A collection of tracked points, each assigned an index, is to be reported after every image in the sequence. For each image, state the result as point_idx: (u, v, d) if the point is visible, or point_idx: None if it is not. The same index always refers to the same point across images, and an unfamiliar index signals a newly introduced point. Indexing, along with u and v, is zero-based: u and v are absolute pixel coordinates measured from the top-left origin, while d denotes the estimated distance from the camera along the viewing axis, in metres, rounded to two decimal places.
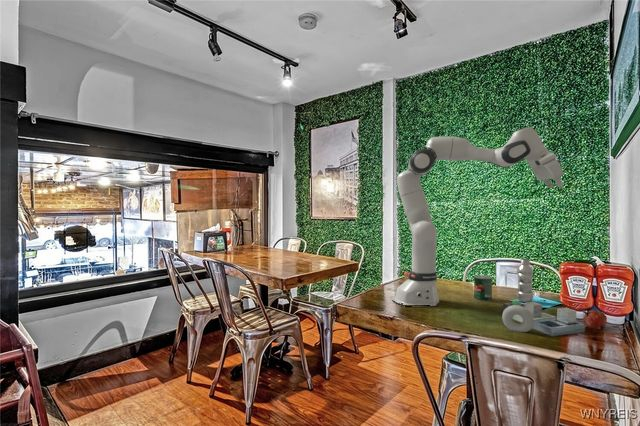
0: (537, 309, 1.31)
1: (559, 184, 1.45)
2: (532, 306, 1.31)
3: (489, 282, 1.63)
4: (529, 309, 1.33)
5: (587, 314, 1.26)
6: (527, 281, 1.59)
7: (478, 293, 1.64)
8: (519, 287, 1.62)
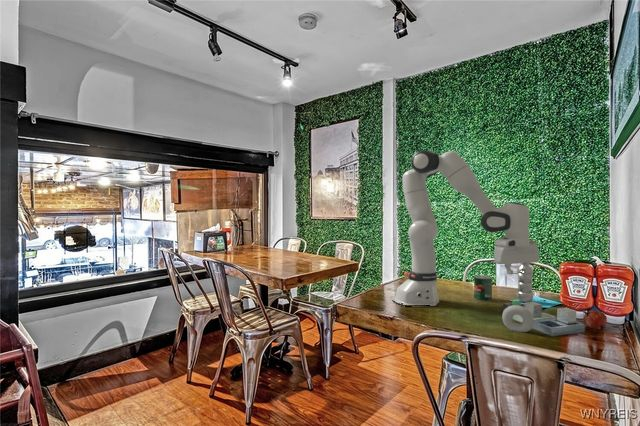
0: (537, 309, 1.31)
1: (508, 271, 1.42)
2: (532, 306, 1.31)
3: (489, 282, 1.63)
4: (529, 309, 1.33)
5: (587, 314, 1.26)
6: (527, 281, 1.59)
7: (478, 293, 1.64)
8: (519, 287, 1.62)
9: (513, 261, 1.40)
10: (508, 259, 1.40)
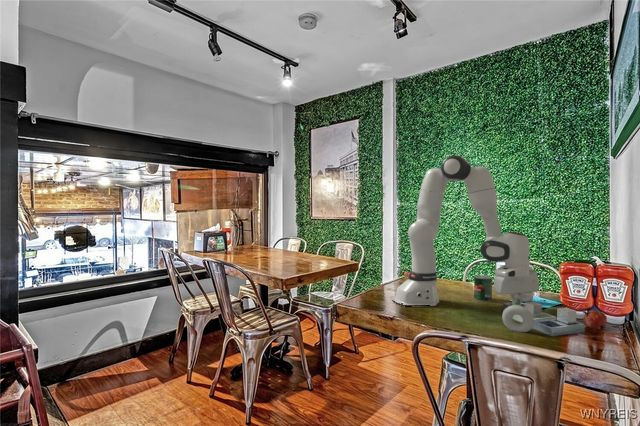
0: (537, 309, 1.31)
1: (513, 300, 1.43)
2: (532, 306, 1.31)
3: (489, 282, 1.63)
4: (529, 309, 1.33)
5: (587, 314, 1.26)
6: None
7: (478, 293, 1.64)
8: None
9: (513, 291, 1.41)
10: (508, 289, 1.40)
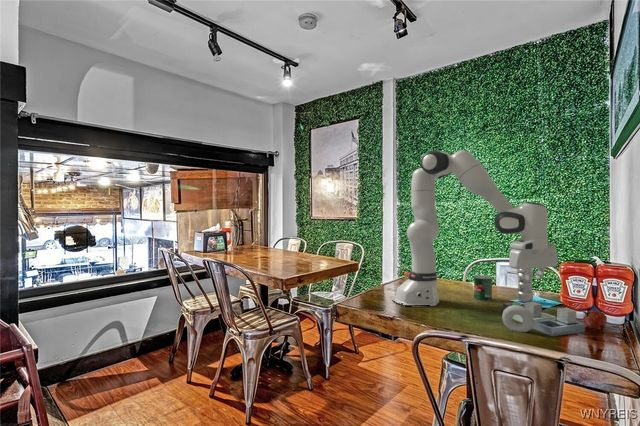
0: (537, 309, 1.31)
1: (526, 276, 1.32)
2: (532, 306, 1.31)
3: (489, 282, 1.63)
4: (529, 309, 1.33)
5: (587, 314, 1.26)
6: (527, 281, 1.59)
7: (478, 293, 1.64)
8: (519, 287, 1.62)
9: (530, 265, 1.30)
10: (524, 263, 1.29)
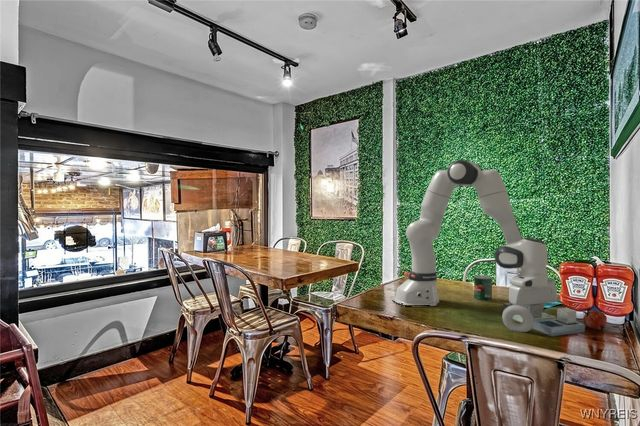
0: (537, 309, 1.31)
1: None
2: (532, 306, 1.31)
3: (489, 282, 1.63)
4: (529, 309, 1.33)
5: (587, 314, 1.26)
6: None
7: (478, 293, 1.64)
8: None
9: (530, 302, 1.30)
10: (524, 299, 1.30)
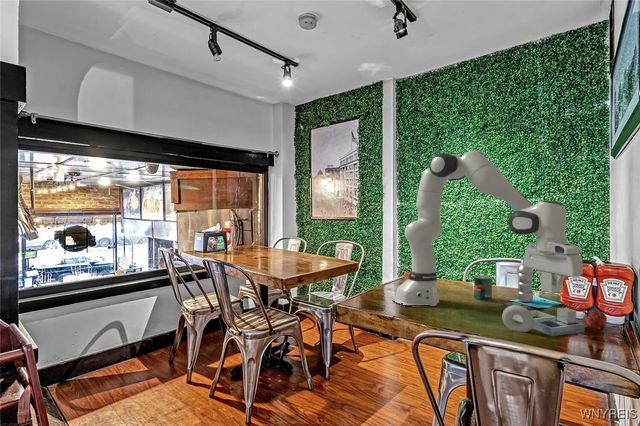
0: None
1: (559, 283, 1.18)
2: None
3: (489, 282, 1.63)
4: (556, 279, 1.20)
5: (587, 314, 1.26)
6: (527, 281, 1.59)
7: (478, 293, 1.64)
8: (519, 287, 1.62)
9: None
10: None
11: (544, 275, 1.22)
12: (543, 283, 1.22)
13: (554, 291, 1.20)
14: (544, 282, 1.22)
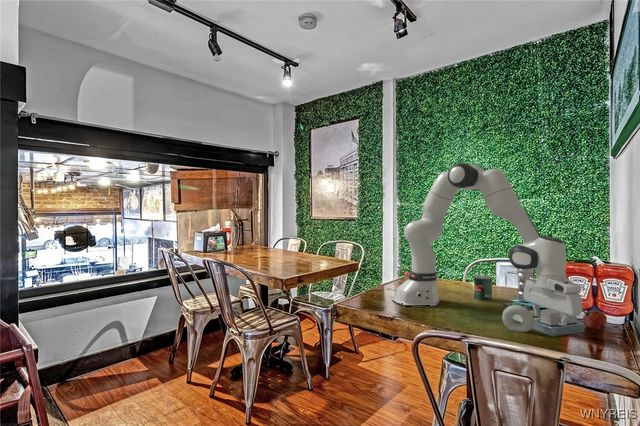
0: None
1: (564, 322, 1.17)
2: (558, 314, 1.21)
3: (489, 282, 1.63)
4: (555, 319, 1.20)
5: (587, 314, 1.26)
6: None
7: (478, 293, 1.64)
8: (519, 287, 1.62)
9: None
10: None
11: (543, 314, 1.22)
12: (542, 322, 1.23)
13: None
14: (543, 321, 1.22)
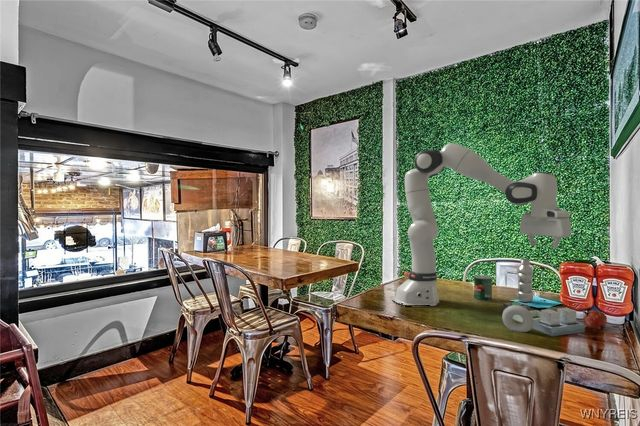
0: None
1: (555, 245, 1.32)
2: (558, 314, 1.21)
3: (489, 282, 1.63)
4: (555, 319, 1.20)
5: (587, 314, 1.26)
6: (527, 281, 1.59)
7: (478, 293, 1.64)
8: (519, 287, 1.62)
9: None
10: None
11: (543, 314, 1.22)
12: (542, 322, 1.23)
13: None
14: (543, 321, 1.22)
